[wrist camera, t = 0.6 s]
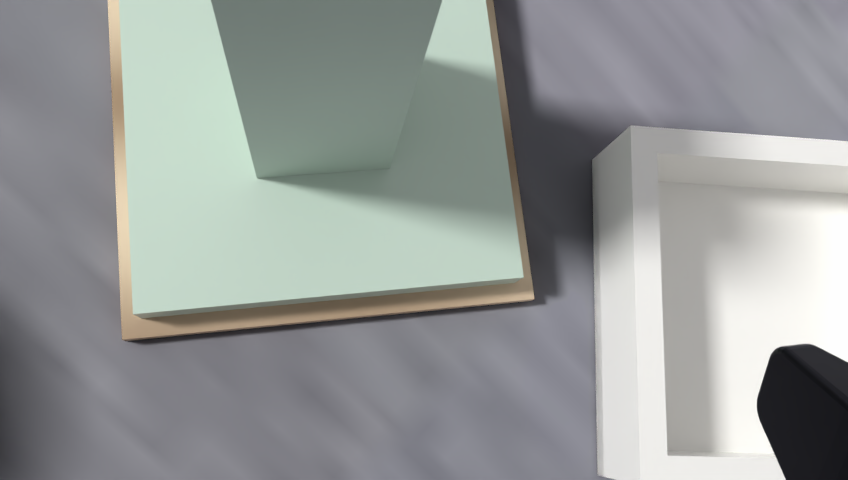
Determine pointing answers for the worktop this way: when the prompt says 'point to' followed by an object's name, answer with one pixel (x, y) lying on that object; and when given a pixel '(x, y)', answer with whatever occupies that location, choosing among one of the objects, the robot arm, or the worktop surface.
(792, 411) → the robot arm
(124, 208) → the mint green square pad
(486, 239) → the mint green stamp
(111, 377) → the worktop surface
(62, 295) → the worktop surface
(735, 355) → the dish
